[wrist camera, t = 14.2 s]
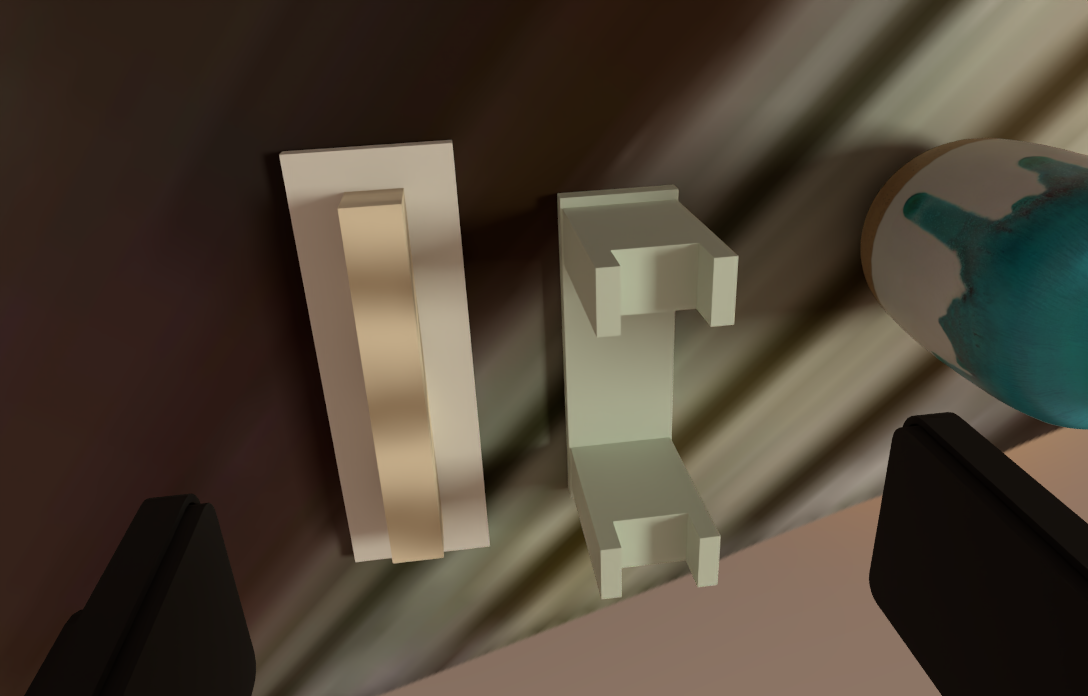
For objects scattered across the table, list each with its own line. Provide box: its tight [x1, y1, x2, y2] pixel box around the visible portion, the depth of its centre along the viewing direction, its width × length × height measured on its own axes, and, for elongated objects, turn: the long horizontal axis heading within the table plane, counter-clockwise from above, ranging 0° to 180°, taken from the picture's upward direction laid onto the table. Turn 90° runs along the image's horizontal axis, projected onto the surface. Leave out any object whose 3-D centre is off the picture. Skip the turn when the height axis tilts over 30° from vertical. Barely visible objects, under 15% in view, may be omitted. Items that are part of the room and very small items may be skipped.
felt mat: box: [279, 140, 490, 562], centre depth 42 cm, size 24×8×1 cm, turn 3°
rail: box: [338, 188, 444, 563], centre depth 41 cm, size 20×3×3 cm, turn 3°
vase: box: [860, 138, 1088, 429], centre depth 34 cm, size 11×11×19 cm
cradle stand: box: [557, 185, 739, 599], centre depth 39 cm, size 18×6×10 cm, turn 3°
